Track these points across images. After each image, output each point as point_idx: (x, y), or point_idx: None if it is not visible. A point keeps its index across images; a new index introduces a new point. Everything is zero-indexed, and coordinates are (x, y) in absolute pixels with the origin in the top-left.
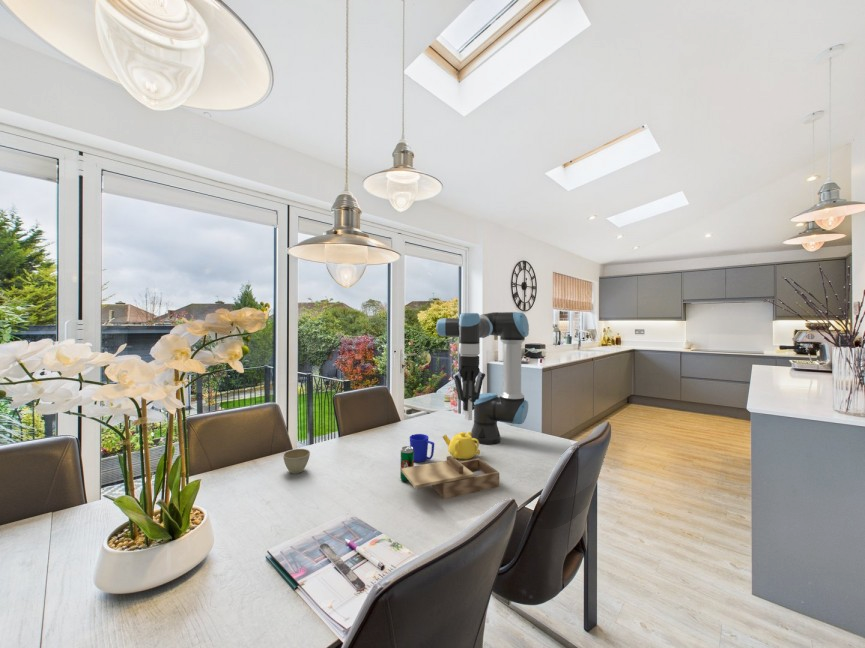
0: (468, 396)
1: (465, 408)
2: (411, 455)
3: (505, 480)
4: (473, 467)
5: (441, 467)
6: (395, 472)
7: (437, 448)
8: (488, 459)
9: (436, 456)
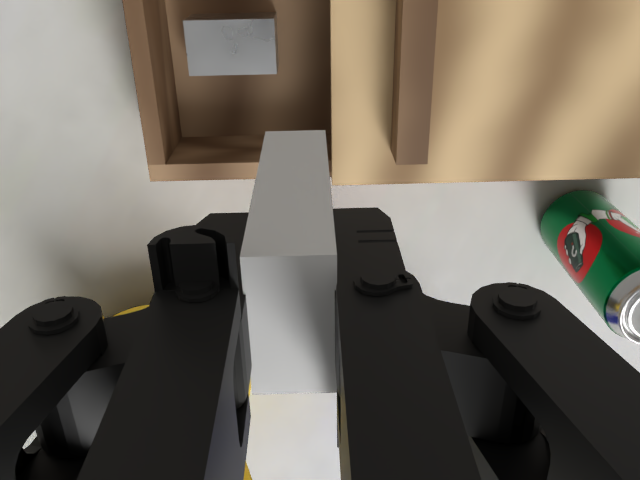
0: (349, 349)
1: (380, 228)
2: (635, 256)
3: (47, 2)
4: (207, 148)
5: (488, 95)
6: (583, 307)
7: (257, 475)
8: (37, 285)
9: (304, 400)
